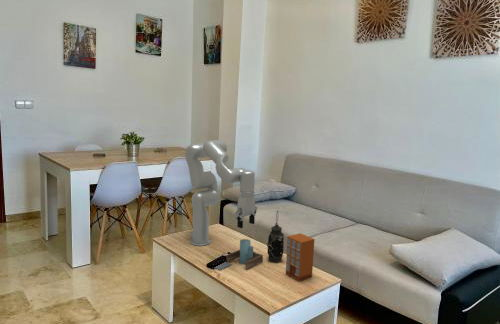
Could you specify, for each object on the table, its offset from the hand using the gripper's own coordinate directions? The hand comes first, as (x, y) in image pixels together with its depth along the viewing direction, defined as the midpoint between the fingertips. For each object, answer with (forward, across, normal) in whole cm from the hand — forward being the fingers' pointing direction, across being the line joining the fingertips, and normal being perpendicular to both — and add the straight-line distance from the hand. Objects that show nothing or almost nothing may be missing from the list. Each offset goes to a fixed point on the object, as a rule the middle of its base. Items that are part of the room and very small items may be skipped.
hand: (246, 225), depth 203 cm
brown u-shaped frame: (+21, 0, 0) cm, 21 cm away
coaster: (+20, +12, -7) cm, 25 cm away
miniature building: (+21, -6, +30) cm, 37 cm away
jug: (+21, 0, +1) cm, 21 cm away
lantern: (+21, -14, +10) cm, 27 cm away
